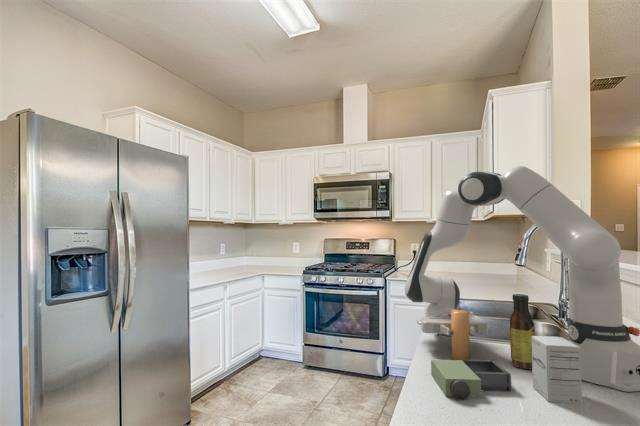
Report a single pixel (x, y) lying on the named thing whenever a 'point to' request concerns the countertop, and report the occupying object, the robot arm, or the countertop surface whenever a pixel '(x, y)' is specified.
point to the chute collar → (490, 375)
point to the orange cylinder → (460, 335)
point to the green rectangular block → (456, 379)
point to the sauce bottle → (521, 332)
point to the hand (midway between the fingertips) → (461, 332)
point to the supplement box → (557, 369)
